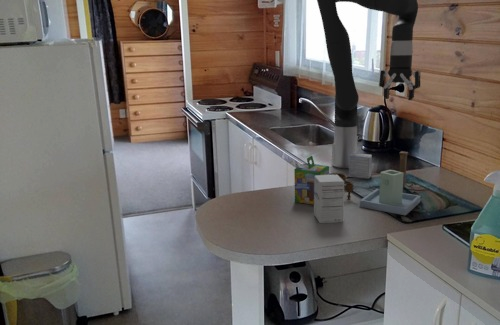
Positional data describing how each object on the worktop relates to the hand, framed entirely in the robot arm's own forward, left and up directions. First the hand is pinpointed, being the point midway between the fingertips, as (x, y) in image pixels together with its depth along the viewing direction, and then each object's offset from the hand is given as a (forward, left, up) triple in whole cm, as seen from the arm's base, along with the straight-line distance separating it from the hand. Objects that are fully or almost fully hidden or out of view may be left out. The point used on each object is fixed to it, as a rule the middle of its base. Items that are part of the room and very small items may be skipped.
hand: (398, 99), depth 172 cm
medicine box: (-12, -4, -30) cm, 33 cm away
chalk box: (-14, -39, -30) cm, 51 cm away
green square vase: (+9, -29, -30) cm, 42 cm away
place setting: (-13, -25, -31) cm, 42 cm away
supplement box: (-2, -51, -30) cm, 59 cm away
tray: (+9, -29, -30) cm, 43 cm away
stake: (+6, -9, -30) cm, 32 cm away
